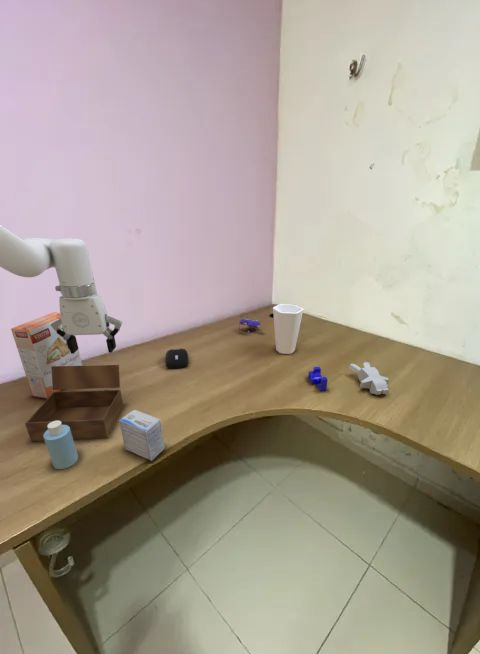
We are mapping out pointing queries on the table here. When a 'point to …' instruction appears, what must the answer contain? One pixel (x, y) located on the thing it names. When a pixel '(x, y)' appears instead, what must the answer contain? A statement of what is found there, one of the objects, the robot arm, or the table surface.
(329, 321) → the table surface
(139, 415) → the medicine box
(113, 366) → the flap
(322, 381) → the cable holder
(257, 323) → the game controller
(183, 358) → the computer mouse
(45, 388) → the cracker box
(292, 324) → the cup
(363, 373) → the bunny figurine
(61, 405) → the wooden box
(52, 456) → the bottle
